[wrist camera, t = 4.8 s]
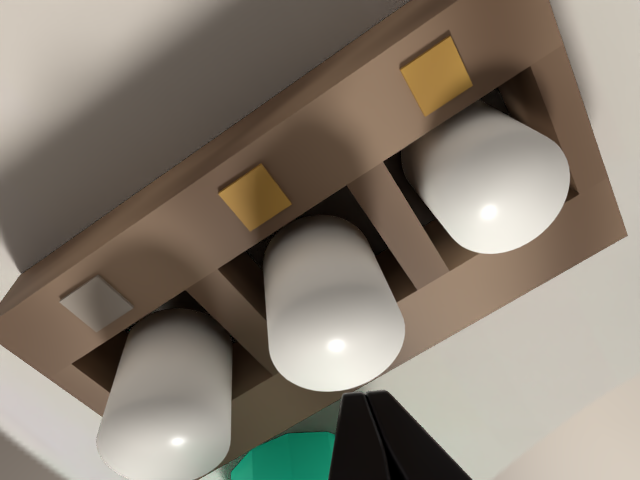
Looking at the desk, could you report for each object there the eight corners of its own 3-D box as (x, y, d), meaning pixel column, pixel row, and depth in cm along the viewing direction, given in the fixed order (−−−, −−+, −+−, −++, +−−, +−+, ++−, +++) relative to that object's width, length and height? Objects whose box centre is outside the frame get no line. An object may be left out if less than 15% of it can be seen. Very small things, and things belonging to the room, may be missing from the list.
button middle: (335, 193, 12) (362, 258, 10) (390, 272, 14) (427, 347, 11) (240, 255, 13) (240, 333, 10) (302, 325, 14) (317, 410, 12)
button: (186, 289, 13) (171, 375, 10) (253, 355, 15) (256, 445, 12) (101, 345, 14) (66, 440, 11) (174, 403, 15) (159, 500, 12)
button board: (478, -47, 12) (534, -51, 10) (574, 198, 16) (630, 237, 13) (20, 274, 14) (-22, 333, 12) (199, 420, 18) (194, 484, 16)
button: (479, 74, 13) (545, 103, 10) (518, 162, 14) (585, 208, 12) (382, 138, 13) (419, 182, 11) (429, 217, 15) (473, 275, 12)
